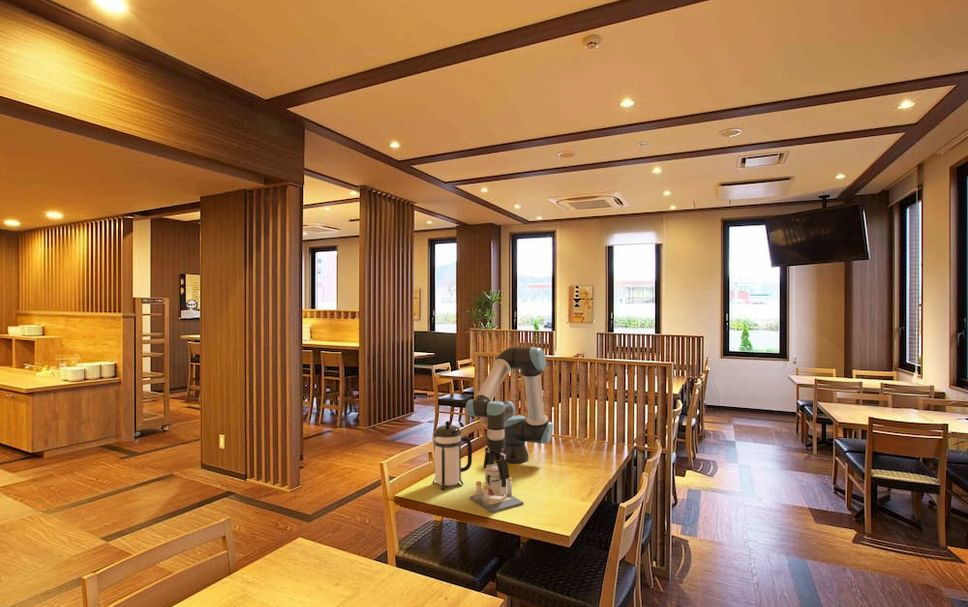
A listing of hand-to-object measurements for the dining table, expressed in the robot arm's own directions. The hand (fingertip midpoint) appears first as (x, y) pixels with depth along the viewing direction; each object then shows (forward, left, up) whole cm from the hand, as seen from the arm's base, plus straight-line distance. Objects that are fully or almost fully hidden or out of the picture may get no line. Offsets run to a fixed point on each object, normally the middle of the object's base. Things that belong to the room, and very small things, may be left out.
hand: (496, 490), depth 210 cm
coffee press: (-29, -7, -5) cm, 30 cm away
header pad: (0, 0, -5) cm, 5 cm away
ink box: (0, 0, -2) cm, 2 cm away
